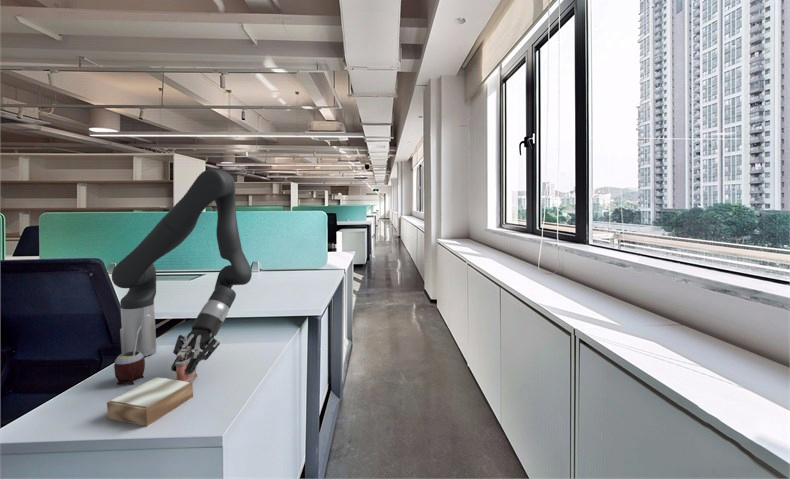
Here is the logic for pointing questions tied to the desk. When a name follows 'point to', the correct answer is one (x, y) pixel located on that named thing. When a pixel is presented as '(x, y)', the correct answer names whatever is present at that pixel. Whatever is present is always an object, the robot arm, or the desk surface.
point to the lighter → (185, 365)
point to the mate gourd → (130, 365)
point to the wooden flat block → (149, 401)
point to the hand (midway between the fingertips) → (181, 371)
